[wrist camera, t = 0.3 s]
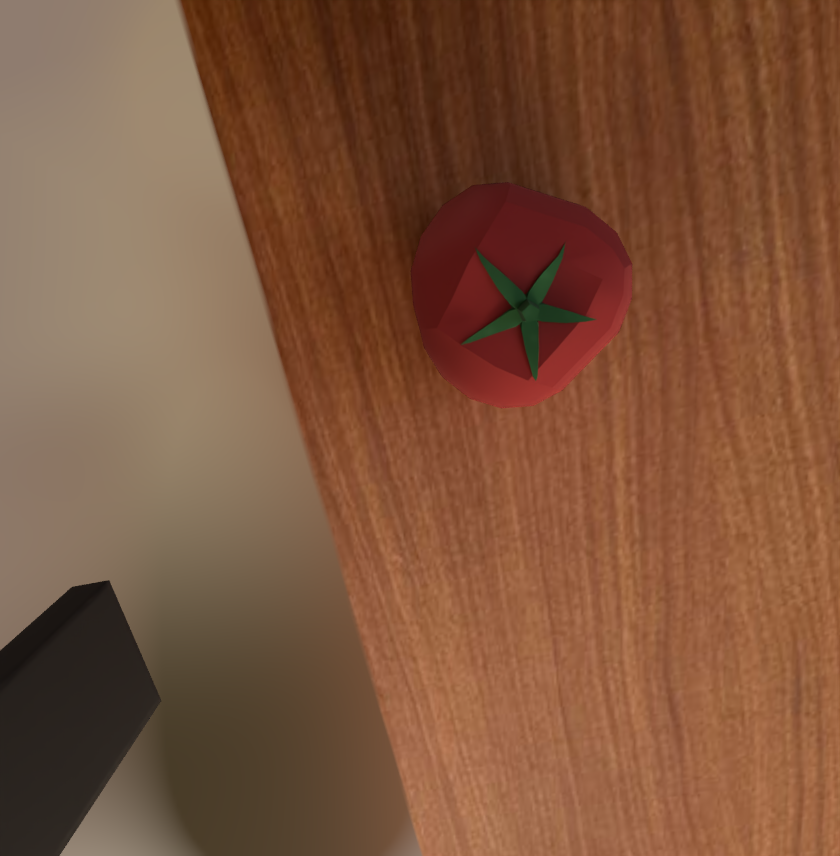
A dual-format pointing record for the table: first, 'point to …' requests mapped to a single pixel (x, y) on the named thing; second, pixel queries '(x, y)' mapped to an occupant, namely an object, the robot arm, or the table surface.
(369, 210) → the table surface
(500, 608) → the table surface
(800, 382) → the table surface
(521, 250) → the tomato
